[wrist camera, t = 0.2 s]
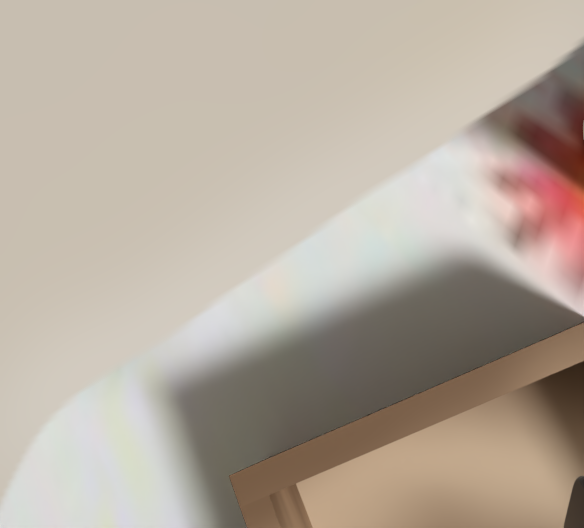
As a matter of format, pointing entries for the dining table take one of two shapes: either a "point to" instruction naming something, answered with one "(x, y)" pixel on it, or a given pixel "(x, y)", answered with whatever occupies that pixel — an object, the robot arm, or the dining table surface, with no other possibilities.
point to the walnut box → (441, 454)
